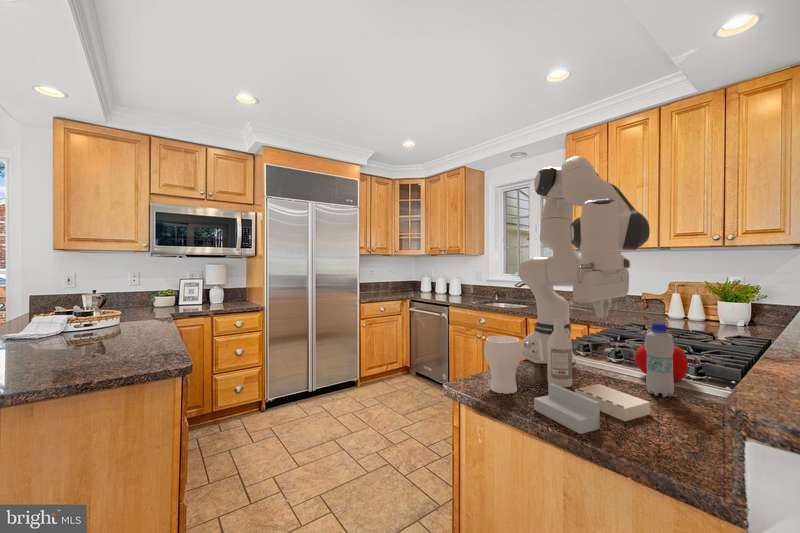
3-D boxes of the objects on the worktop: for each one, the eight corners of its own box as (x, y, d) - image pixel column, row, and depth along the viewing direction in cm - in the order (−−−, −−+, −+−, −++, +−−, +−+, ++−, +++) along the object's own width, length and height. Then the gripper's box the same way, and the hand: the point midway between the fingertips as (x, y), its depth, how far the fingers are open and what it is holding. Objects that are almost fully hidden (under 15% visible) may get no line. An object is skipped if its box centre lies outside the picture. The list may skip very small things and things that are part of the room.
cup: (477, 388, 107) (476, 339, 106) (499, 380, 113) (498, 333, 113) (508, 399, 98) (507, 345, 98) (529, 389, 105) (528, 339, 105)
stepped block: (534, 409, 91) (533, 386, 91) (552, 405, 93) (551, 383, 93) (580, 434, 78) (579, 407, 78) (599, 428, 80) (599, 402, 80)
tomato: (669, 388, 103) (669, 349, 103) (627, 373, 116) (626, 339, 116) (700, 382, 107) (699, 345, 106) (655, 369, 120) (655, 335, 120)
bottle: (680, 399, 95) (679, 325, 95) (652, 398, 96) (651, 324, 96) (667, 390, 101) (666, 320, 101) (640, 389, 103) (639, 320, 102)
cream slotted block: (575, 400, 96) (575, 388, 96) (598, 394, 100) (598, 383, 100) (624, 421, 83) (624, 408, 83) (650, 414, 87) (650, 401, 87)
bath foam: (577, 387, 106) (576, 320, 105) (555, 388, 105) (553, 321, 105) (564, 379, 113) (563, 316, 112) (543, 380, 112) (542, 317, 111)
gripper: (590, 264, 82) (591, 324, 82) (633, 261, 93) (634, 313, 93) (565, 264, 87) (566, 320, 87) (608, 261, 98) (609, 311, 98)
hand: (602, 317), depth 90 cm, fingers closed
